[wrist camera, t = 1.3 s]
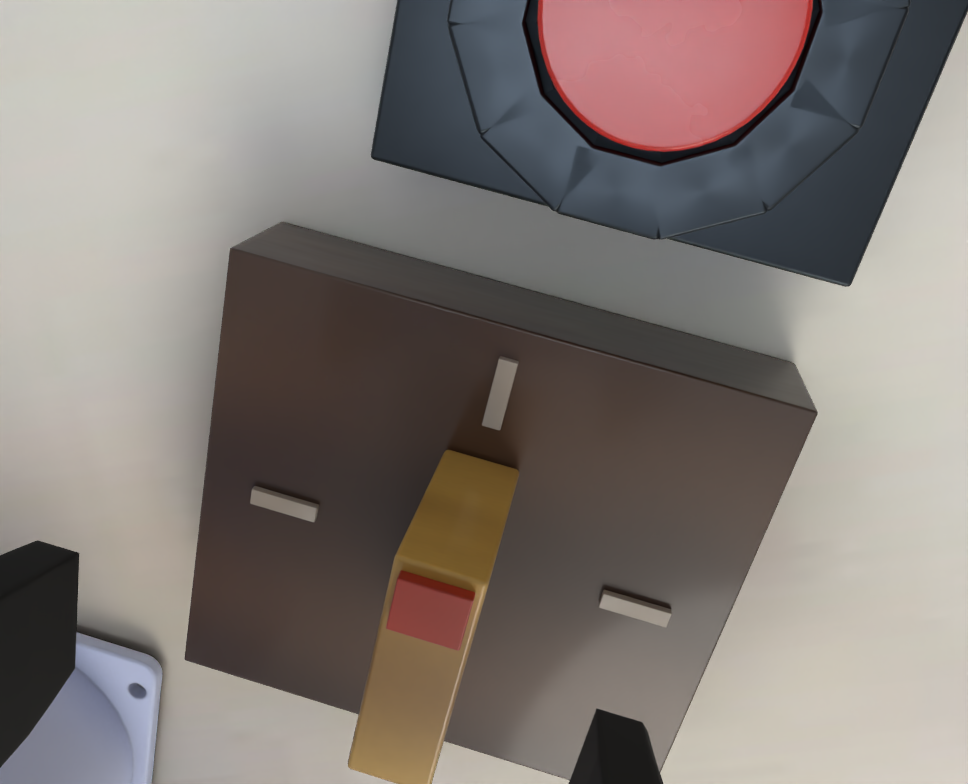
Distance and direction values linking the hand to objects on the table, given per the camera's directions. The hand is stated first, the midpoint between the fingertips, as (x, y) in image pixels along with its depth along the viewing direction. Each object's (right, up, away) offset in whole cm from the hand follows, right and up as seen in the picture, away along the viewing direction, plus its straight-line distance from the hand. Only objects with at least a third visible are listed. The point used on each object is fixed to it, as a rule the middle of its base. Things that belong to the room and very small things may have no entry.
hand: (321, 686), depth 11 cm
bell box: (+5, +11, +4) cm, 13 cm away
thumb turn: (+2, +1, +6) cm, 6 cm away
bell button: (+5, +10, +2) cm, 11 cm away
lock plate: (+2, +2, +8) cm, 9 cm away
